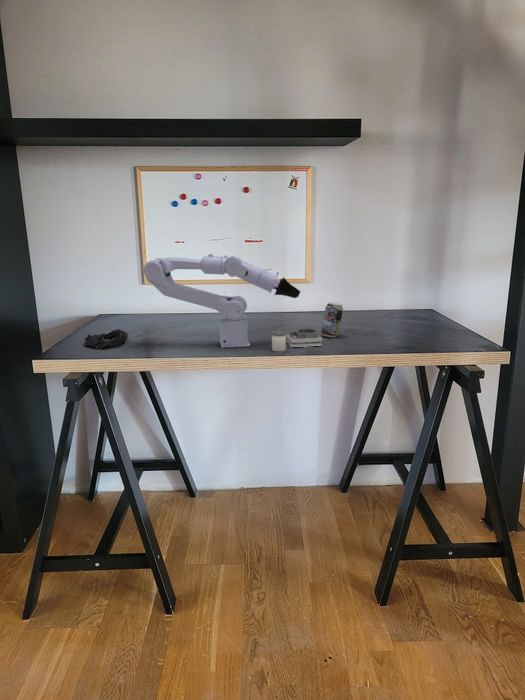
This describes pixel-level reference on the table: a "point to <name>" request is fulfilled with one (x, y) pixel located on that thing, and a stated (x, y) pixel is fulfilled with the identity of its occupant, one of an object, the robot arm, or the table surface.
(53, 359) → the table surface
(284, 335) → the lens
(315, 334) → the square housing with collar
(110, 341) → the cable
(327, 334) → the beverage can
